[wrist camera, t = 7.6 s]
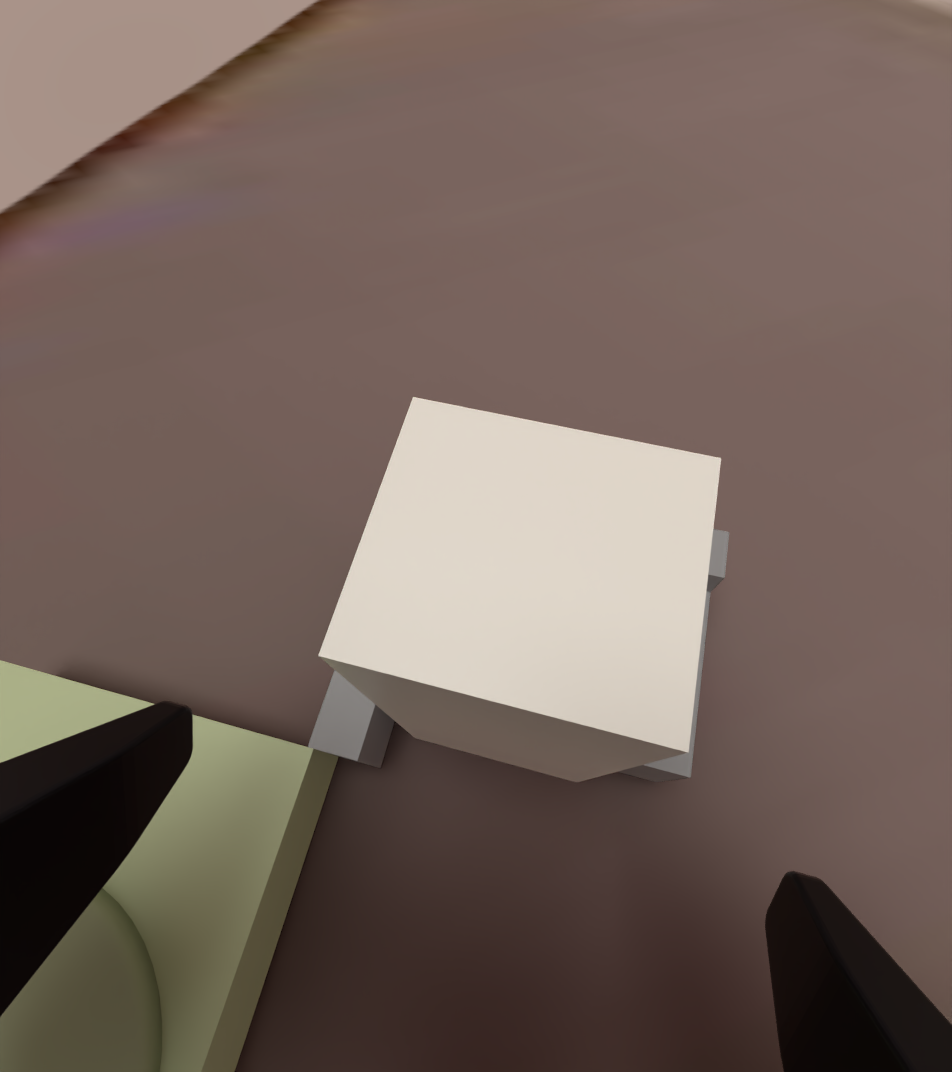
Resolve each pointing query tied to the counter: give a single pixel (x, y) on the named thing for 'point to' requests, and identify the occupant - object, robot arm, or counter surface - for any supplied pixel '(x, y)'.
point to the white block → (531, 592)
